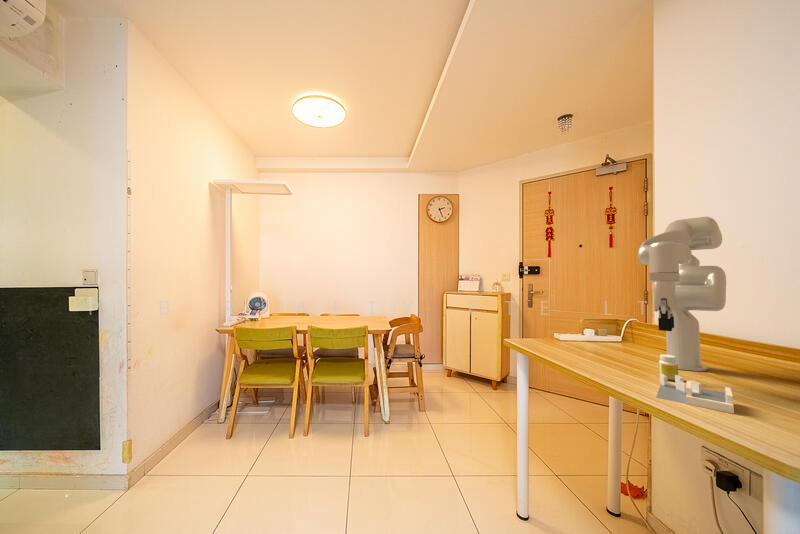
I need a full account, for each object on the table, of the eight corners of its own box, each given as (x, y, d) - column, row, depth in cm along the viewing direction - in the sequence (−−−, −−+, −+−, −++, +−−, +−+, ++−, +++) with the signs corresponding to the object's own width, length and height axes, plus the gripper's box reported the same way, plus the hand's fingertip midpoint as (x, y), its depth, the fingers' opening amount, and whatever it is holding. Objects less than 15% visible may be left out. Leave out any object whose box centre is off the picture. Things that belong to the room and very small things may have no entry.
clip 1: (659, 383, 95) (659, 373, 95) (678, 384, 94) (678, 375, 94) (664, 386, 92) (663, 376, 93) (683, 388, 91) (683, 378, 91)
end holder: (687, 394, 86) (686, 380, 86) (731, 402, 80) (730, 387, 80) (686, 403, 80) (685, 388, 80) (734, 413, 73) (733, 397, 74)
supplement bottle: (682, 384, 96) (681, 358, 96) (665, 383, 97) (664, 357, 97) (672, 379, 101) (670, 354, 101) (656, 378, 101) (654, 353, 102)
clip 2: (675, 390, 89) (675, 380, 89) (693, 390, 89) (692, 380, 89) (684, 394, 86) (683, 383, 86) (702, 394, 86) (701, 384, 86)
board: (661, 383, 97) (661, 381, 97) (727, 395, 87) (727, 392, 87) (656, 399, 84) (656, 397, 84) (732, 415, 74) (732, 413, 74)
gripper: (653, 278, 109) (655, 325, 108) (646, 277, 97) (648, 330, 96) (681, 278, 103) (683, 327, 102) (677, 277, 91) (680, 333, 90)
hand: (666, 329), depth 99 cm, fingers open, 9 cm apart
